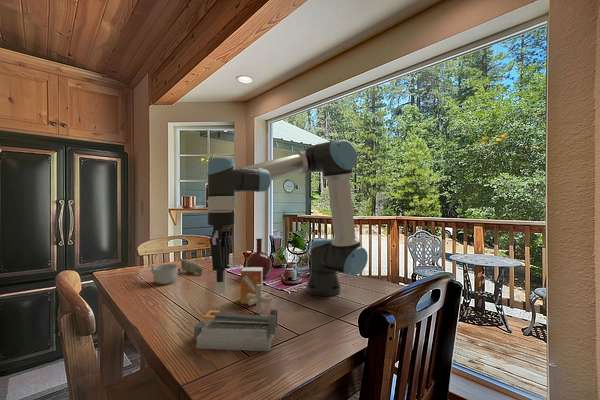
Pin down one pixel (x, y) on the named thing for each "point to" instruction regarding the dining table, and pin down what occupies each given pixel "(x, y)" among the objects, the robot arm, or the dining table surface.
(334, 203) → the robot arm
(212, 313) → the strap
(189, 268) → the decorative bird
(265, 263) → the round-bottom flask
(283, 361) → the dining table surface
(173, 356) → the dining table surface
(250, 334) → the heatsink
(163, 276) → the teacup
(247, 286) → the small box
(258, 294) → the pipe connector
